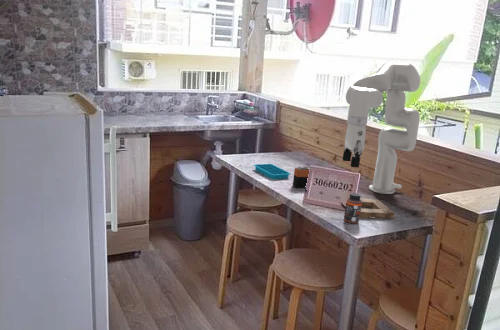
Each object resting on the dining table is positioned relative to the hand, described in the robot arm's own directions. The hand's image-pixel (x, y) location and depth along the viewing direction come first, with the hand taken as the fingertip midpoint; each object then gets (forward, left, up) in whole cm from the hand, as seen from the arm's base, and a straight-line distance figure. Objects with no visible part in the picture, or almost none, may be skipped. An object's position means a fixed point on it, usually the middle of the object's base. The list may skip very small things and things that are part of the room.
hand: (350, 163), depth 175 cm
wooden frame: (-13, -7, -22) cm, 27 cm away
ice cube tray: (+19, -58, -23) cm, 65 cm away
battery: (+8, -38, -22) cm, 45 cm away
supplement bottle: (-2, +5, -22) cm, 23 cm away
